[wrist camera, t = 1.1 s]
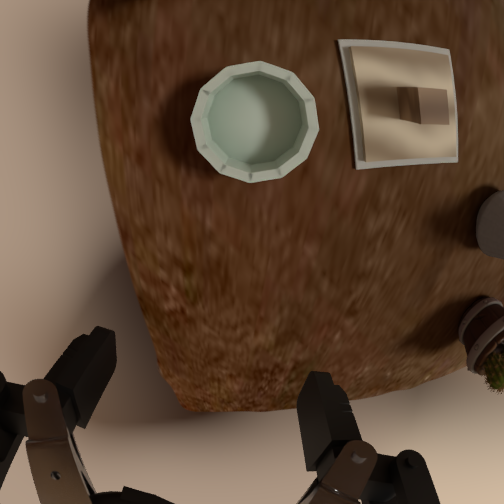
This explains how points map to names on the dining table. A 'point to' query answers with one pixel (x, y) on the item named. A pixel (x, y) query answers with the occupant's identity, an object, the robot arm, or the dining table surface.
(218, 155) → the bowl
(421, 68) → the lid
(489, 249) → the coffee pot
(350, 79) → the tray
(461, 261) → the dining table surface
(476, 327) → the flowerpot
